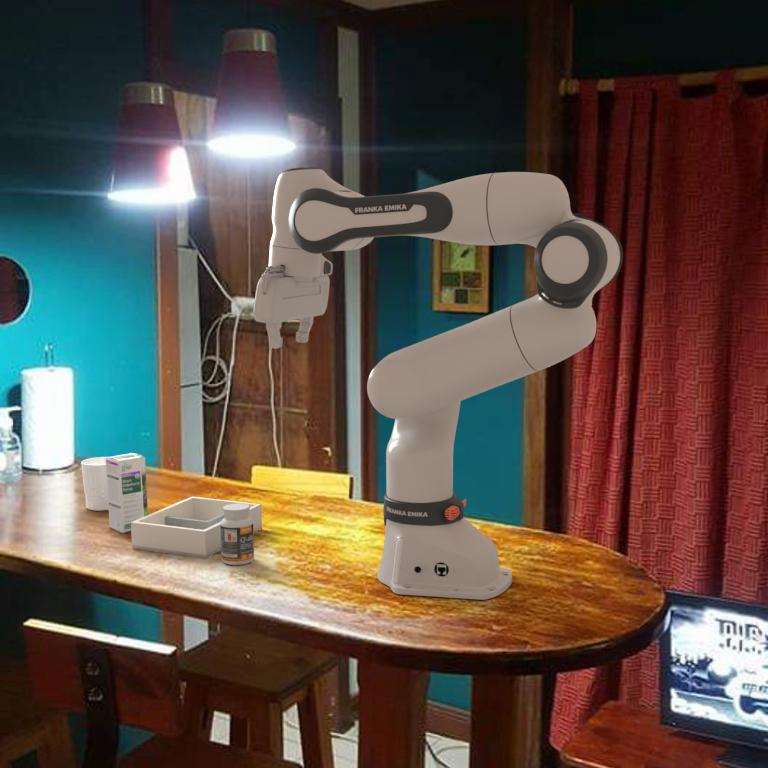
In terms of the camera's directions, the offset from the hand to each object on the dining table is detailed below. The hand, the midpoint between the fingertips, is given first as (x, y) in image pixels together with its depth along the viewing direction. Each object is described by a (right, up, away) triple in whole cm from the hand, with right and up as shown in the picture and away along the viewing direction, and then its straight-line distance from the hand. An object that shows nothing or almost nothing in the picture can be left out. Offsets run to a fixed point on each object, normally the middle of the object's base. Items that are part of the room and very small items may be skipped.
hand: (288, 344), depth 178 cm
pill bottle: (-10, -38, +6) cm, 40 cm away
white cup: (-44, -33, +43) cm, 69 cm away
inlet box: (-19, -36, +19) cm, 45 cm away
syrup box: (-34, -35, +27) cm, 56 cm away
